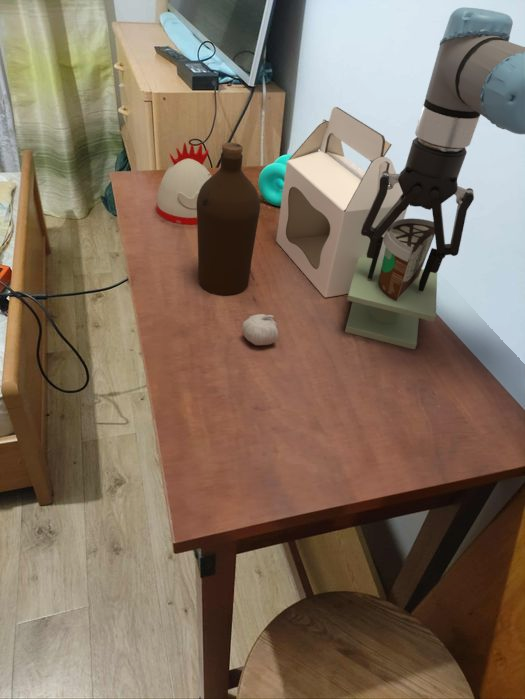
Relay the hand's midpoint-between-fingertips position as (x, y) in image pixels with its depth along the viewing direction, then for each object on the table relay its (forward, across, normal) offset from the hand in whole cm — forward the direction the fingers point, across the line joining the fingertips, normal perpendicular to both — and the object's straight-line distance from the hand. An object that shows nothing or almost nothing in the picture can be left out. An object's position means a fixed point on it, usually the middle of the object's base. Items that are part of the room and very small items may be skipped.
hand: (395, 280), depth 85 cm
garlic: (+9, +19, +14) cm, 25 cm away
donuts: (+9, +29, -40) cm, 50 cm away
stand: (+9, 0, 0) cm, 9 cm away
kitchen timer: (+9, +47, -24) cm, 54 cm away
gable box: (+9, +13, -15) cm, 22 cm away
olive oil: (+9, +30, 0) cm, 31 cm away
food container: (+1, +1, 0) cm, 1 cm away
